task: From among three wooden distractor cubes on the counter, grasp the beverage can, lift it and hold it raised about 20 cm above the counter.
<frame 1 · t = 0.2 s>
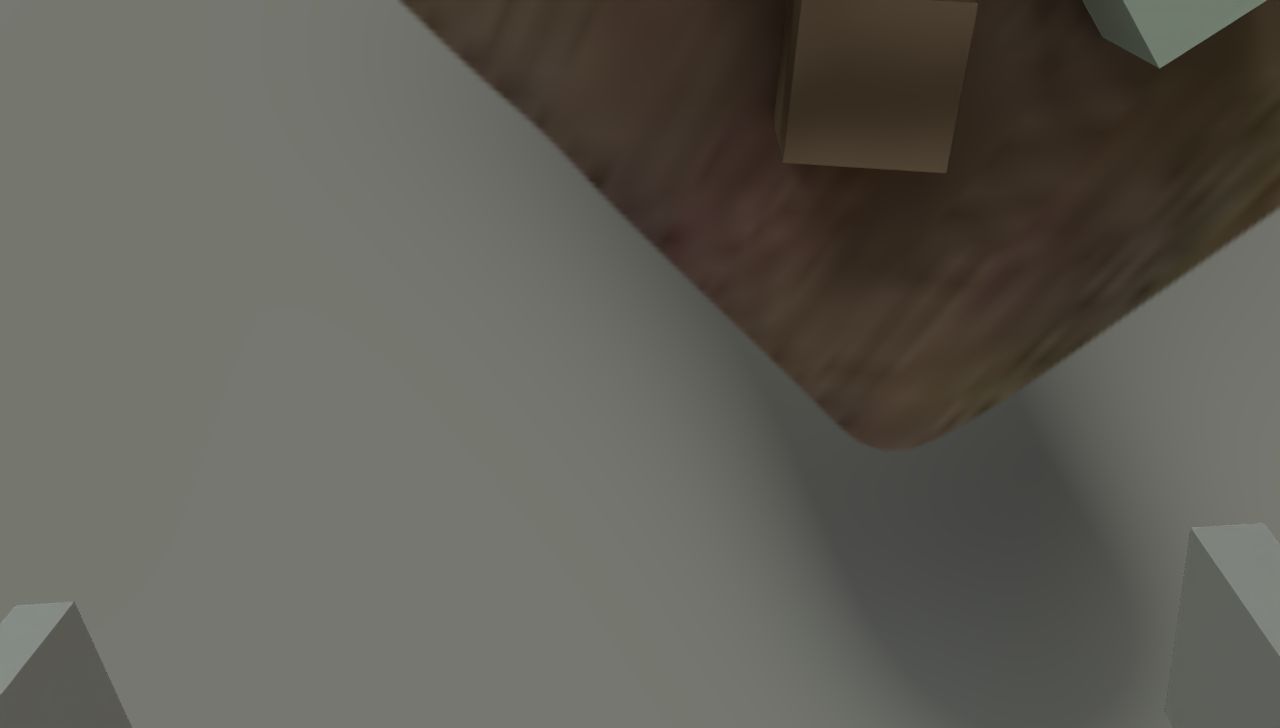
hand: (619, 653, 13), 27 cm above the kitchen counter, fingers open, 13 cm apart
cube walnut: (854, 52, 36), on the kitchen counter
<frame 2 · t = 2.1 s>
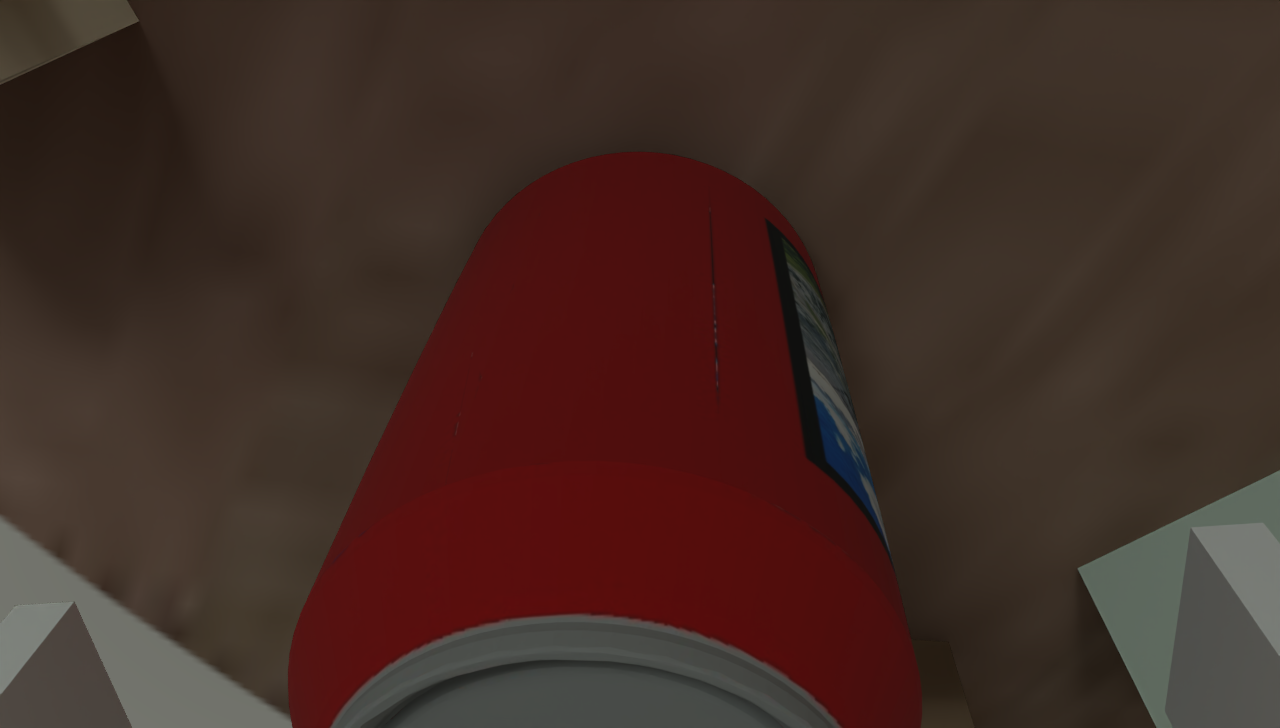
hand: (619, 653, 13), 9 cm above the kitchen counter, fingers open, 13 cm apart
cube sage: (1235, 588, 23), on the kitchen counter
cube walnut: (822, 711, 25), on the kitchen counter
beverage can: (642, 303, 21), on the kitchen counter
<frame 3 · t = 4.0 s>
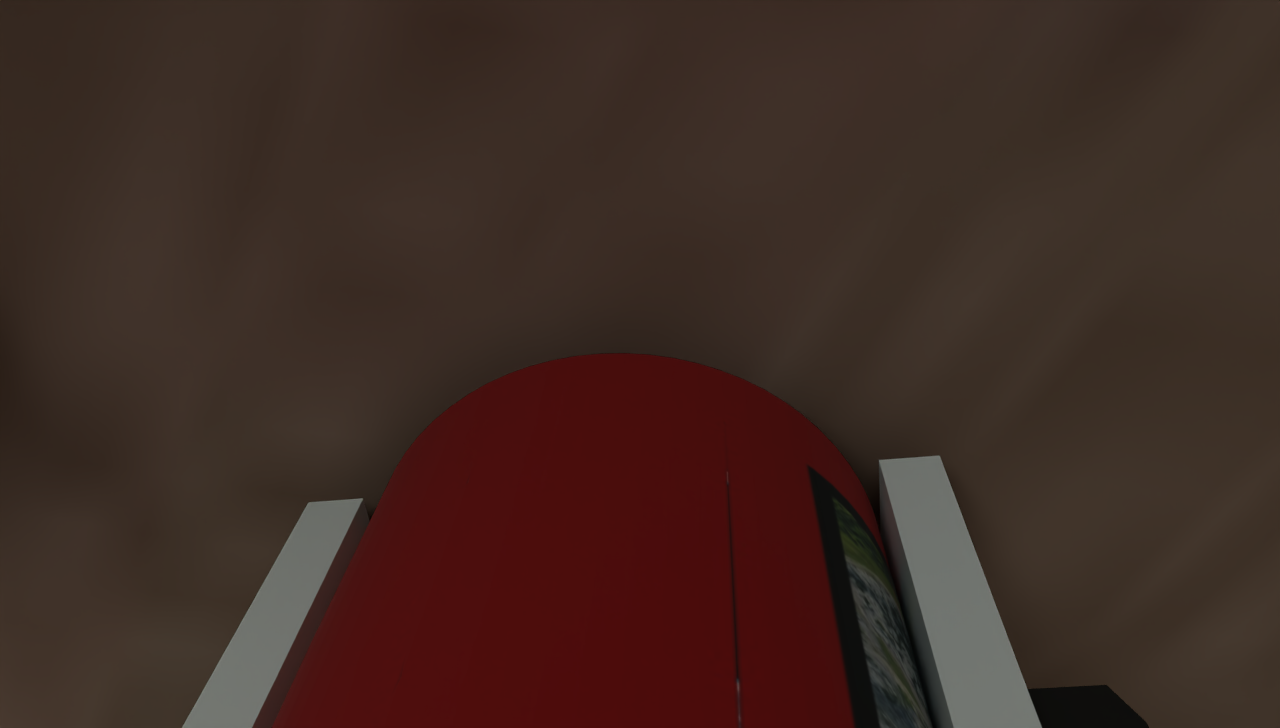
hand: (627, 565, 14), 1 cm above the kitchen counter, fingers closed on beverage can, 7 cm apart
beverage can: (630, 532, 15), on the kitchen counter, touching gripper
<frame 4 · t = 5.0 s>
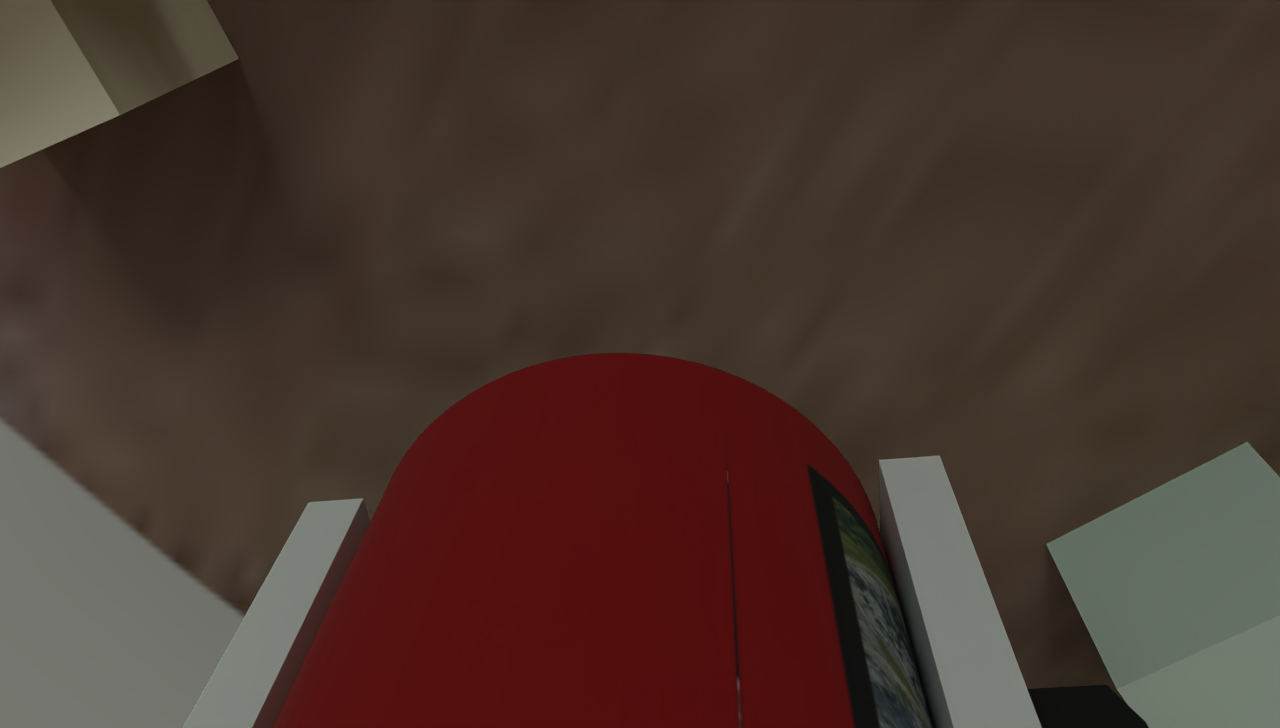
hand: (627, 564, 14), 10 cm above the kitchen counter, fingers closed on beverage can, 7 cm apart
cube sage: (1187, 564, 26), on the kitchen counter
beverage can: (630, 531, 15), point 9 cm above the kitchen counter, touching gripper
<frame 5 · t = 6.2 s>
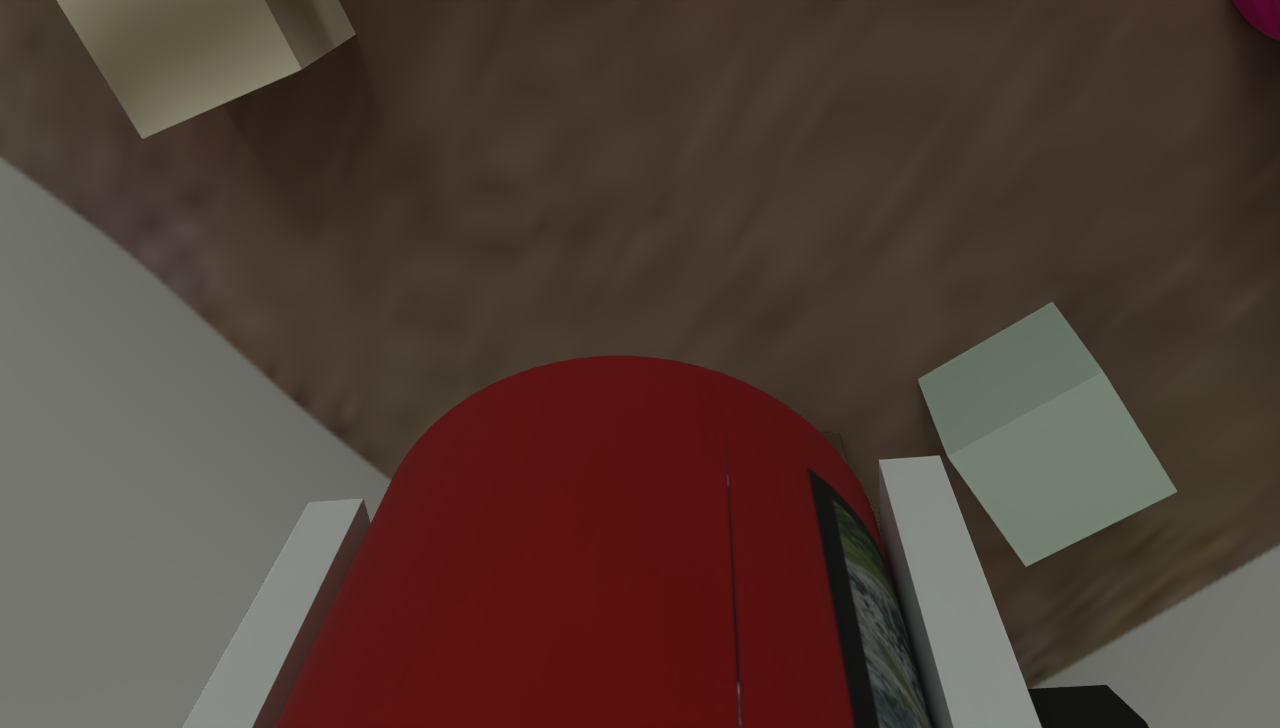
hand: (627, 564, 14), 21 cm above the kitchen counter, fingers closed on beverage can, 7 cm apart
cube sage: (1018, 393, 36), on the kitchen counter
beverage can: (631, 534, 15), point 20 cm above the kitchen counter, touching gripper
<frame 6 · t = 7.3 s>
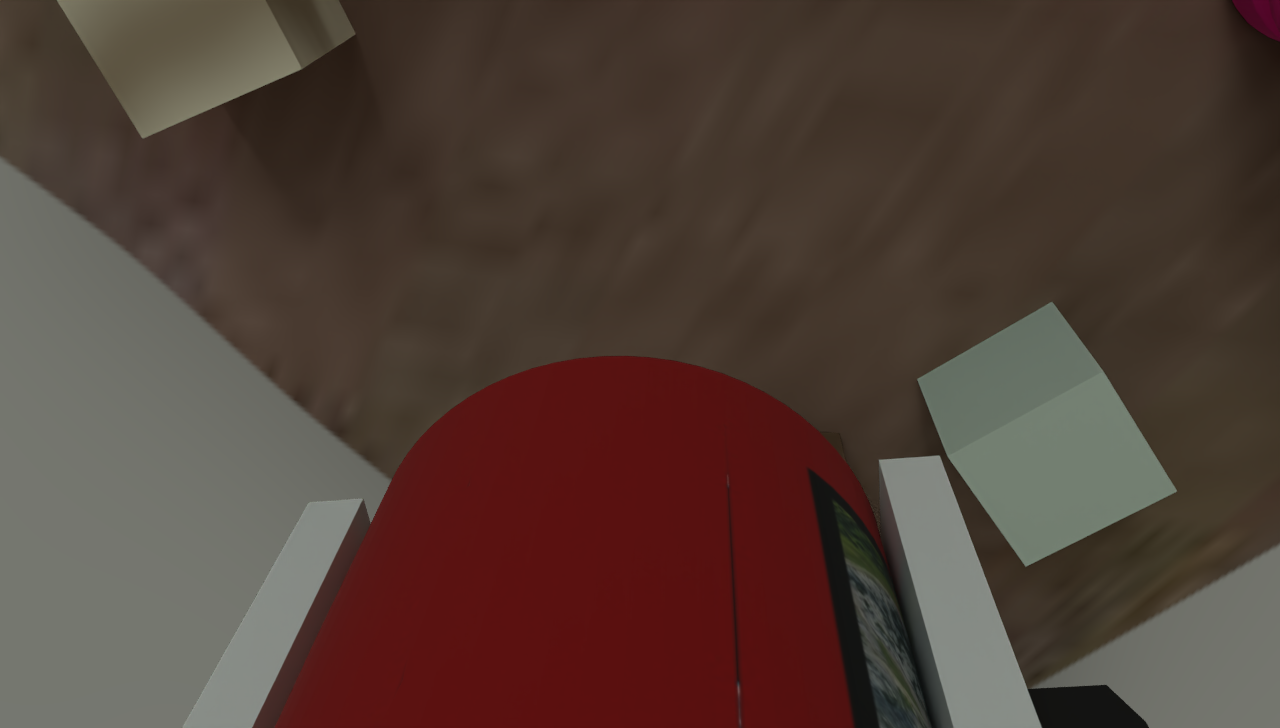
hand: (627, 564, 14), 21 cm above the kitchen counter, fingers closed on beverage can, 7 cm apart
cube sage: (1017, 393, 36), on the kitchen counter
beverage can: (631, 534, 15), point 20 cm above the kitchen counter, touching gripper
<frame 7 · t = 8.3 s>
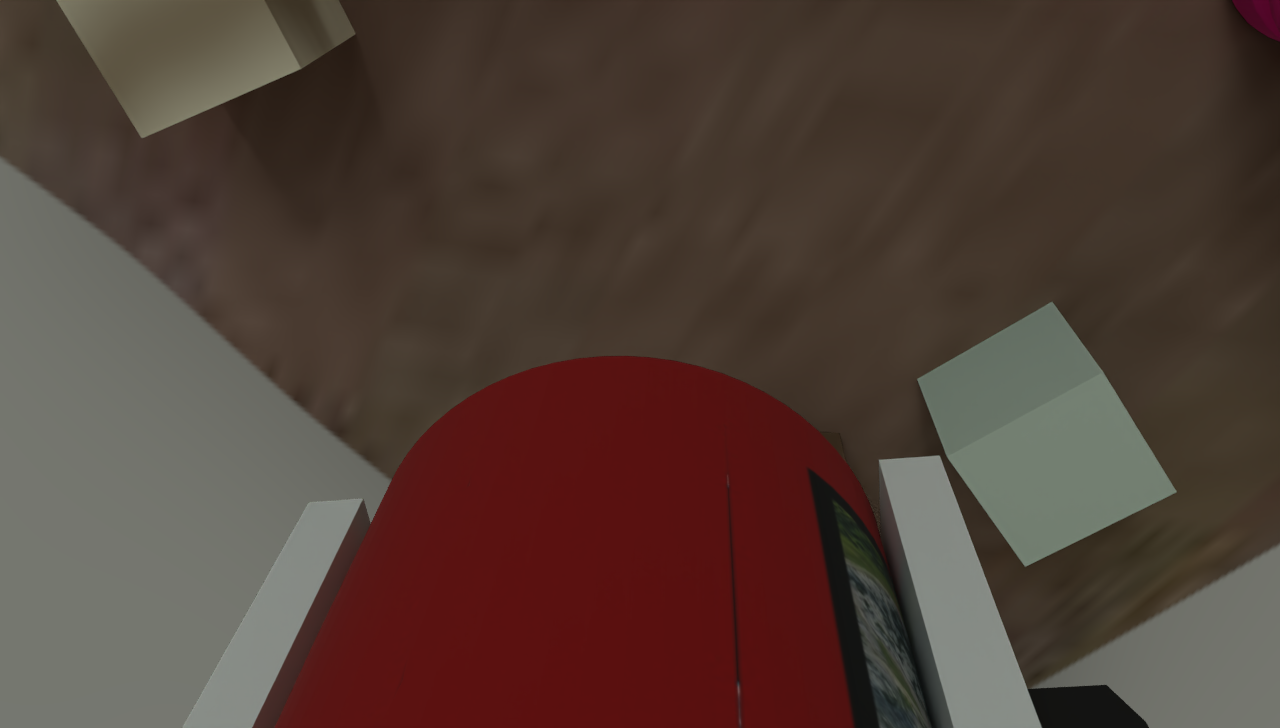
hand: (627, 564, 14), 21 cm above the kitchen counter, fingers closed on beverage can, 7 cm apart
cube sage: (1017, 393, 36), on the kitchen counter
beverage can: (631, 534, 15), point 20 cm above the kitchen counter, touching gripper
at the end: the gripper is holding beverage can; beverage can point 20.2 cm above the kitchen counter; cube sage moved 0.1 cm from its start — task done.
